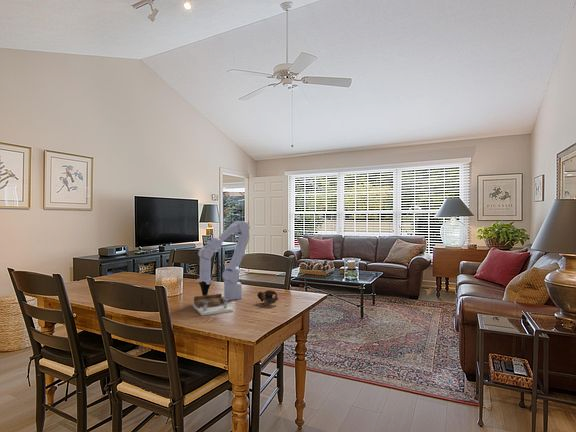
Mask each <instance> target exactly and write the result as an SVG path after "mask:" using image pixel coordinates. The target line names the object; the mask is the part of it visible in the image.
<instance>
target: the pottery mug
mask: <svg viewBox="0 0 576 432" xmlns="http://www.w3.org/2000/svg"><path fill="white" fill-rule="evenodd" d="M256 295H257V298H258V299H259V300H260V302H263V306H264V307H267V306H268V305H272V304H274V303H276V302H277V301H279V297H278V293H277V292H276V291H275V290H272V289H268V290H264V292H263V291H259V292H257V294H256ZM274 295H275V296H274ZM273 296H274V297H273Z"/></svg>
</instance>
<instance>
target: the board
mask: <svg viewBox="0 0 576 432" xmlns="http://www.w3.org/2000/svg"><path fill="white" fill-rule="evenodd" d="M223 302H224V304H223V303H220V305H217V306H209V307H207V304H208V302H207V301H205V302H203V304H204V306H200V308H198V307H197V306H196V305H195V304H194V303H192V307H193V308H194V309H195V311H197V313H199V315H201V316H208V315H217V314H224V313H229V312H230V313H231V312H234V309H233V308H232V307H231V306H230V305H228V302H229V300H228V299H223Z"/></svg>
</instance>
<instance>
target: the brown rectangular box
mask: <svg viewBox="0 0 576 432" xmlns="http://www.w3.org/2000/svg"><path fill="white" fill-rule="evenodd" d="M222 297H223V296H222V293H217V294H207V295H205V296H203V295H198V296H197V295H196V296H194V297H193V304H195V305H196V306H197V307H198V308H200V306H204V304H203V302H205V301H207V302H208V304H207V307H209V306H217V305H220V303H223V304H224V302H223V298H222Z"/></svg>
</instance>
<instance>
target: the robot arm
mask: <svg viewBox="0 0 576 432" xmlns="http://www.w3.org/2000/svg"><path fill="white" fill-rule="evenodd" d="M250 229H251V227H250V224H249V223H248V222H247V221H246V220H235V221H233V222H232V223H231V224H229V226H228V227H226V229H225V230H224V231H223V232H222V233H220V235H219V236H218V237H214V238H211V239H210V241H209V242H208V243H207V244H204V247H201V248H200V249H199V250H198V252H197V255H198V257H199V278H197V279H196V281H200V282H198V284H199V287H200V289H201V296H205V295H209V294H208V293H209V289H210V287H211V284H212V283H211V282H212V280H211V279H212V278H211V272H212V271H211V269H212V268H211V267H212V266H211V265H212V264H211V263H212V261H211V258H212V257H213V255H214V254H215V252H216V251H217V250H218V249H219V248H221V247H222V245H223V242H224V241H226V239H228V238H229V237H231V235H233V234H236V235H237V236H238V241H237V244H236V246H235V250H234V252H233V254H232V257H231V259H230V262H229V264H228V265H227V266H226V268H225V270H224V271H223V272H222V274H221V277H222V279H223V296H221V297H222V298H223V299H228V301H232V300H233V301H234V300H240V299H243V297H242V295H243V294H242V293H243V292H242V291H243V289H242V282H240V280H239V279H240V272H241V270H240V265H241V262H242V260H243V257H244V254H245V252H246V249H247V246H248V243H249V241H250Z"/></svg>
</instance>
